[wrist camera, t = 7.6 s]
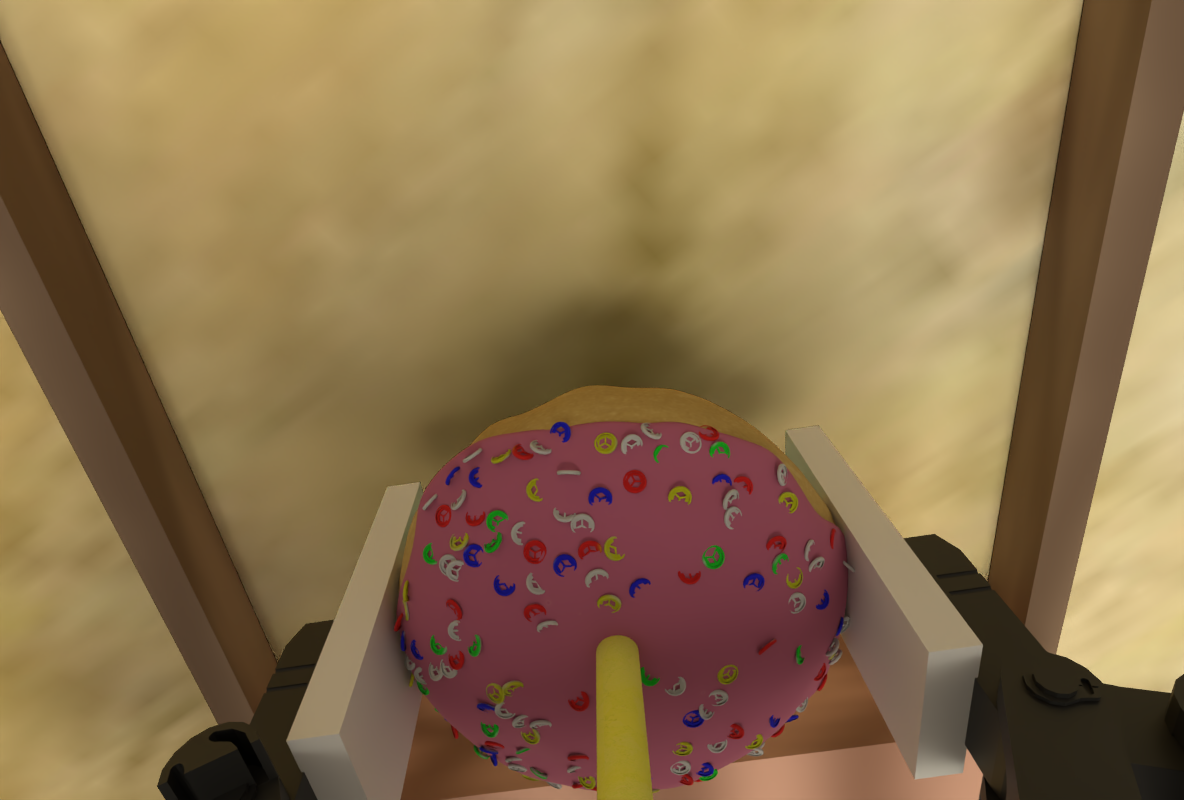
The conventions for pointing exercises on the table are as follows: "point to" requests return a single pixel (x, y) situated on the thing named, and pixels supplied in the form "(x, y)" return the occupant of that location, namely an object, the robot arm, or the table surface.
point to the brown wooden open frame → (844, 705)
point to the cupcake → (621, 591)
